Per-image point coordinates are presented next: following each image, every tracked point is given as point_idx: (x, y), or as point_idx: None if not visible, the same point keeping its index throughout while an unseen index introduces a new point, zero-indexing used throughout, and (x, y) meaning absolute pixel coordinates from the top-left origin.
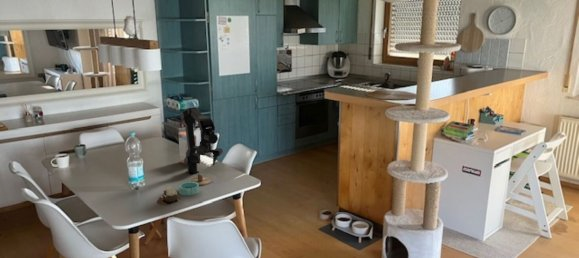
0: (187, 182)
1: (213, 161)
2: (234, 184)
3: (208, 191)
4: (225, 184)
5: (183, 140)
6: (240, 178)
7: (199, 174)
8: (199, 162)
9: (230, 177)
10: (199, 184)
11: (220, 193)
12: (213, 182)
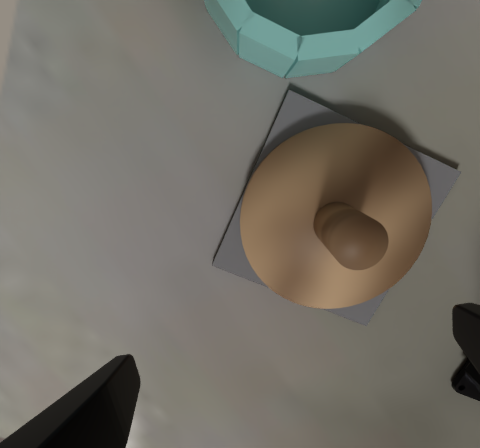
0: (396, 2)
1: (48, 426)
2: (48, 306)
3: (139, 73)
4: (112, 277)
5: None
6: None
7: (368, 245)
8: (472, 331)
9: (170, 403)
10: (293, 144)
11: (8, 83)
12: (219, 261)
